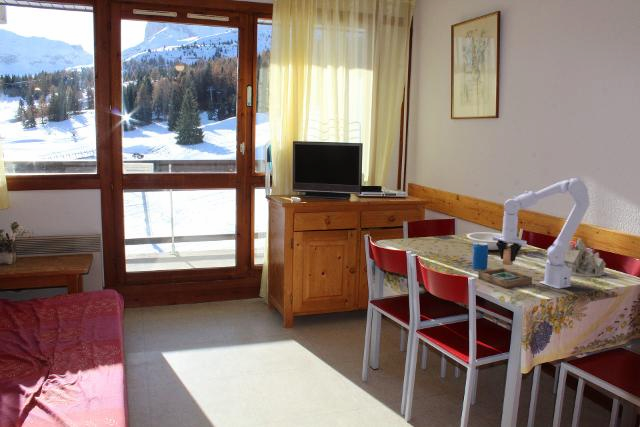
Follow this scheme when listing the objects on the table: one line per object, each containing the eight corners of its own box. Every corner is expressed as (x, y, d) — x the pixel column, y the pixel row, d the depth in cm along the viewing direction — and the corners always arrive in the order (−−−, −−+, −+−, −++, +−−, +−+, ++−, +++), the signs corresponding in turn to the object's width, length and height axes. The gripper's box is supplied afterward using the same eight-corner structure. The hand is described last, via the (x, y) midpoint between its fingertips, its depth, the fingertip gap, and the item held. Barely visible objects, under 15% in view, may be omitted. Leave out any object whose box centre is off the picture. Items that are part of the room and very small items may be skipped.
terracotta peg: (514, 264, 233) (515, 250, 232) (509, 265, 230) (510, 251, 229) (505, 262, 235) (506, 248, 235) (500, 263, 233) (501, 249, 232)
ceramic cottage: (553, 269, 250) (558, 237, 247) (580, 267, 256) (585, 236, 253) (581, 281, 236) (587, 247, 233) (608, 278, 242) (615, 245, 239)
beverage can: (470, 267, 253) (471, 241, 252) (484, 267, 253) (486, 242, 251) (474, 271, 247) (475, 244, 245) (488, 271, 247) (490, 245, 245)
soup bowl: (523, 250, 288) (524, 238, 287) (493, 256, 275) (494, 243, 273) (486, 242, 307) (487, 230, 306) (456, 247, 294) (457, 235, 293)
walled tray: (531, 284, 228) (532, 277, 227) (506, 288, 222) (506, 281, 221) (502, 274, 242) (503, 268, 241) (478, 278, 236) (478, 271, 235)
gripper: (531, 229, 227) (529, 261, 230) (499, 224, 238) (497, 255, 240) (522, 231, 223) (520, 264, 225) (490, 226, 234) (488, 257, 236)
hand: (507, 260), depth 232 cm, fingers closed on terracotta peg, 4 cm apart
